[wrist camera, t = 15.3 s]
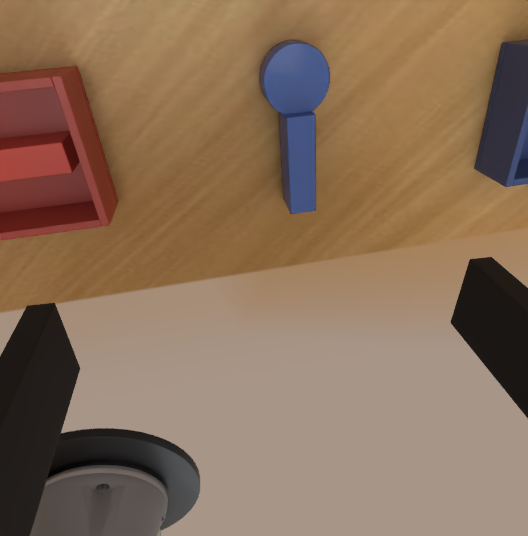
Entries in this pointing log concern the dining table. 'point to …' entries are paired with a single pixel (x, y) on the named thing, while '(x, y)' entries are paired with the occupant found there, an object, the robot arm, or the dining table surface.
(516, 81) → the blue bin
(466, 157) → the dining table surface
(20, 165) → the red spoon
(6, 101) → the red bin
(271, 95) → the blue spoon
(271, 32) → the dining table surface
